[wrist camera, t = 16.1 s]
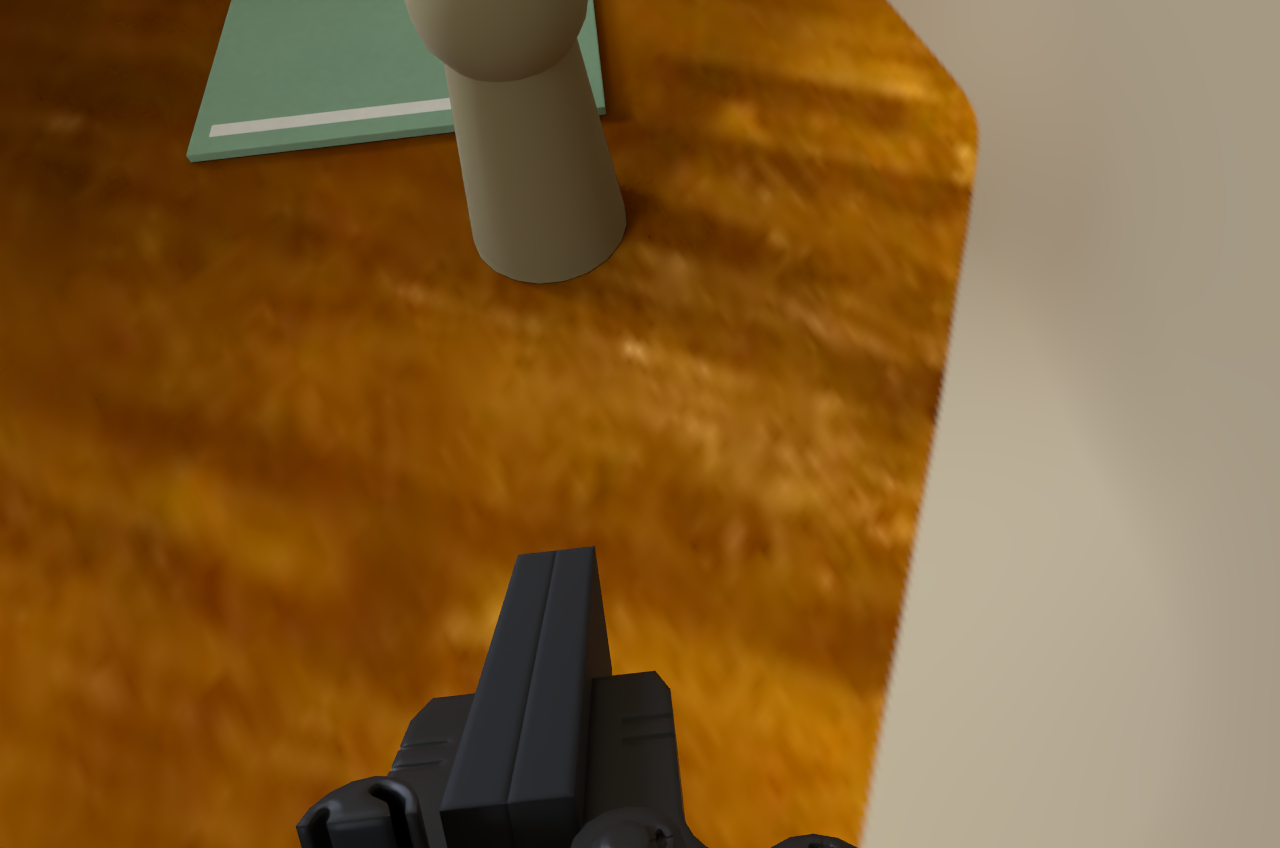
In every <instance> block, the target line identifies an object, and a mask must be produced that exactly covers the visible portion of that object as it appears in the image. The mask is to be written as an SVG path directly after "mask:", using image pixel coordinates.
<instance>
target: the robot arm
mask: <svg viewBox="0 0 1280 848" xmlns="http://www.w3.org/2000/svg"><path fill="white" fill-rule="evenodd" d="M400 747H401V749H400V750H399V751H398V753H397V755H396V757H395V760H394V762H393V764H392V771H390V772H389V774H388V776H387V777H386V776H374V777H370V778H365V779H361V780H357V781H353V782H351V783H349V784H346V785H344V786H342V787H340V788H338V789H336V790H334V791H332V792H330V793H329V794H327V795H326V796H325V797H323V798H322V799H321V800H320V801H318V802H317V803H316V804H314V805H313V806H312V807H311V808H309V810H308V811H307V812H306V814H305V815H304V816H303V818H302V819H301V820H300V822H299V823H298V824H297V826H296V829H297V832H298V836H299V839H300V843H301V846H302V848H708V847H706V846H705V845H704V844H703V843H702V842H700V841H699V840H698V839H697V838H696V837H695V836H694V835H693V834H692V832H691V830H690V829H689V827H688V826H687V824H686V821H685V815H684V805H683V796H682V786H681V777H680V767H679V759H678V751H677V742H676V734H675V725H674V717H673V708H672V700H671V691H670V688H669V687H668V686H667V685H666V684H665V682H664V681H663V680H662V679H661V677H660V676H659V675H658V674H657V673H656V671H649V672H641V673H632V674H623V675H614V676H612V666H611V659H610V652H609V645H608V638H607V631H606V623H605V616H604V609H603V602H602V595H601V588H600V581H599V574H598V566H597V559H596V552H595V546H592V547H583V548H575V549H566V550H557V551H548V552H540V553H531V554H522V555H518V557H517V560H516V563H515V566H514V570H513V573H512V576H511V579H510V583H509V586H508V589H507V592H506V596H505V599H504V602H503V605H502V609H501V612H500V615H499V618H498V622H497V625H496V628H495V631H494V635H493V638H492V641H491V644H490V648H489V651H488V654H487V657H486V661H485V664H484V667H483V670H482V674H481V677H480V680H479V683H478V686H477V690H476V693H475V694H466V695H457V696H449V697H440V698H433V699H432V700H431V701H430V702H429V703H428V704H427V705H426V706H425V707H424V708H423V709H422V710H421V711H420V712H419V713H418V714H417V715H416V716H415V717H414V718H413V719H412V720H411V722H410V724H409V726H408V729H407V731H406V733H405V736H404V738H403V741H402V743H401V745H400ZM771 848H857V847H855V846H853V845H851V844H849V843H847V842H845V841H843V840H841V839H839V838H835V837H829V836H823V835H817V834H809V835H802V836H795V837H790V838H788V839H786V840H784V841H782V842H780V843H778V844H777V845H775V846H773V847H771Z"/></svg>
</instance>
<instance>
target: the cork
mask: <svg viewBox="0 0 1280 848" xmlns="http://www.w3.org/2000/svg"><path fill="white" fill-rule="evenodd" d="M404 2H405V5H406V7H407V10H408V13H409V16H410V18H411V21H412V23H413V25H414V27H415V29H416V31H417V33H418V35H419V36H420V38H421V40H422V41H423V43H424V44H425V46H426V47H427V49H428V50H429V51H430V52H431V53H432V54H433V55H435V56H436V57H437V58H438V59H440V60H441V61H442V62H443V63H444V68H445V74H446V80H447V86H448V92H449V98H450V104H451V110H452V116H453V122H454V128H455V134H456V140H457V146H458V151H459V157H460V163H461V169H462V175H463V181H464V187H465V193H466V199H467V205H468V211H469V217H470V223H471V229H472V235H473V241H474V243H475V245H476V248H477V250H478V252H479V255H480V257H481V258H482V259H483V260H484V261H485V262H486V263H487V264H488V265H489V266H490V267H491V268H492V269H493V270H494V271H496V272H498V273H500V274H502V275H505V276H507V277H509V278H511V279H514V280H517V281H524V282H531V283H538V284H542V283H551V282H560V281H566V280H569V279H572V278H574V277H577V276H580V275H582V274H585V273H588V272H590V271H591V270H593V269H594V268H595V267H597V266H598V265H600V264H601V263H603V262H604V261H605V260H607V259H608V258H609V257H610V255H611V254H612V253H613V252H614V250H615V249H616V248H617V246H618V245H619V244H620V243H621V240H622V237H623V234H624V231H625V228H626V224H627V222H626V213H625V206H624V202H623V198H622V195H621V191H620V188H619V184H618V181H617V177H616V174H615V170H614V167H613V163H612V160H611V156H610V152H609V149H608V145H607V142H606V138H605V135H604V131H603V128H602V124H601V121H600V117H599V114H598V110H597V106H596V103H595V99H594V96H593V92H592V89H591V85H590V82H589V78H588V75H587V71H586V67H585V64H584V60H583V57H582V53H581V50H580V46H579V43H578V39H577V36H578V35H579V33H580V30H581V28H582V26H583V23H584V21H585V18H586V12H587V5H588V0H404Z"/></svg>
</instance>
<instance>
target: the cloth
mask: <svg viewBox="0 0 1280 848" xmlns="http://www.w3.org/2000/svg"><path fill="white" fill-rule="evenodd" d="M577 39H578V43H579V46H580V50H581V53H582V57H583V60H584V64H585V67H586V71H587V75H588V78H589V82H590V85H591V89H592V92H593V96H594V99H595V103H596V106H597V110H598V114H599V115H605V114H606V107H605V98H604V89H603V80H602V71H601V63H600V54H599V45H598V36H597V28H596V19H595V10H594V1H593V0H588V5H587V12H586V18H585V21H584V23H583V26H582V28H581V30H580V33H579V35H578V36H577ZM450 132H455V128H454V122H453V116H452V110H451V104H450V98H449V92H448V86H447V80H446V74H445V68H444V63H443V62H442V61H441V60H440V59H438V58H437V57H436V56H435V55H433V54H432V53H431V52H430V51H429V50H428V49H427V47H426V46H425V44H424V43H423V41H422V40H421V38H420V36H419V35H418V33H417V31H416V29H415V27H414V25H413V23H412V21H411V18H410V16H409V13H408V10H407V7H406V5H405V2H404V0H231V3H230V6H229V10H228V13H227V17H226V20H225V24H224V27H223V30H222V34H221V37H220V41H219V44H218V48H217V51H216V54H215V58H214V61H213V65H212V68H211V72H210V75H209V78H208V82H207V85H206V89H205V92H204V96H203V99H202V102H201V106H200V109H199V113H198V116H197V119H196V123H195V126H194V130H193V133H192V137H191V140H190V143H189V147H188V150H187V154H186V156H187V158H188V159H189V160H190V162H199V161H208V160H216V159H225V158H234V157H242V156H251V155H260V154H268V153H277V152H286V151H294V150H303V149H312V148H320V147H329V146H337V145H346V144H355V143H363V142H372V141H381V140H389V139H398V138H407V137H415V136H424V135H433V134H441V133H450Z"/></svg>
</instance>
